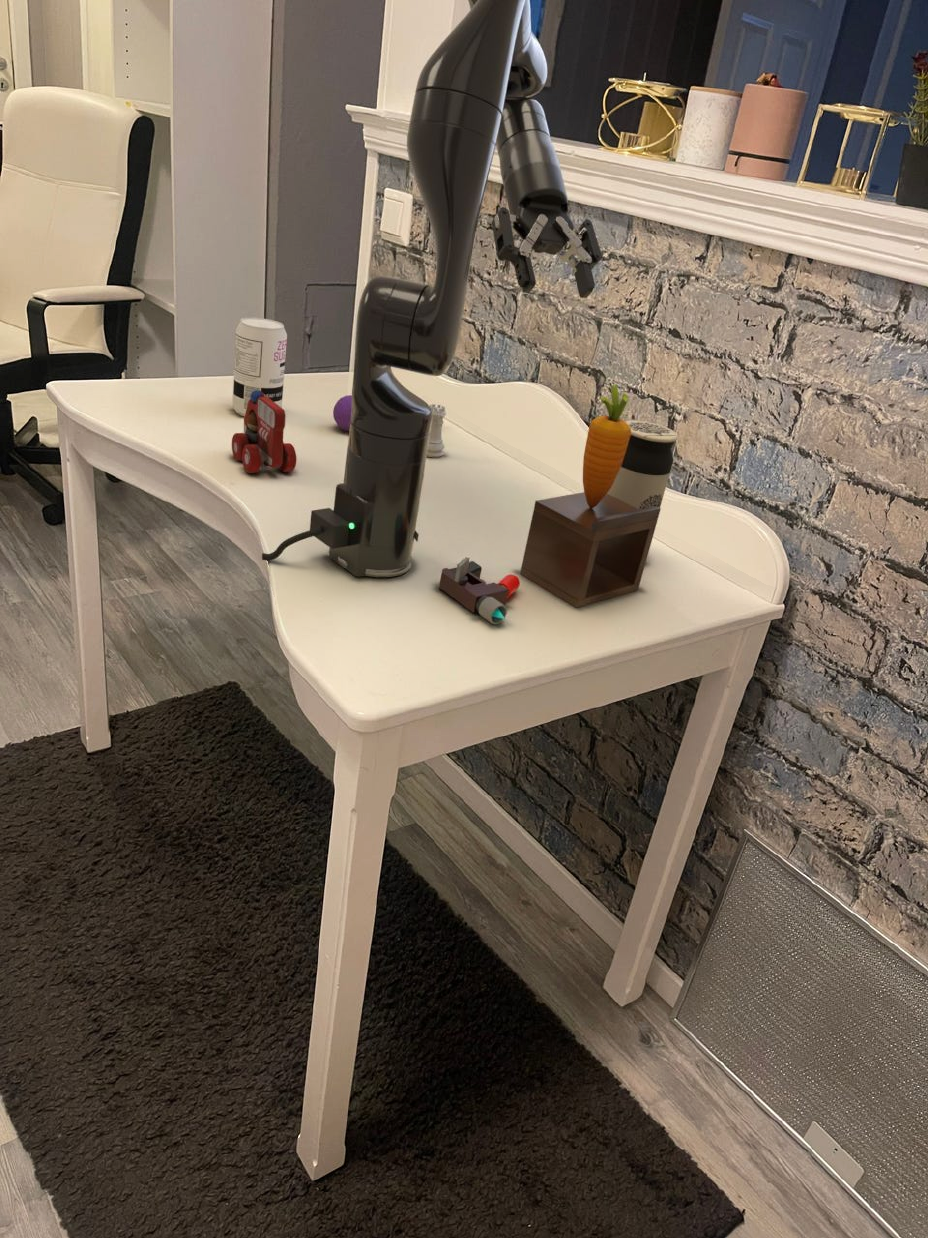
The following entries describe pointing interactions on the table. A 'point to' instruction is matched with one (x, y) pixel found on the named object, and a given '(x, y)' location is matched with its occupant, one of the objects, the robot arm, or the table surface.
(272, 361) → the supplement can
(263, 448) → the toy fire truck
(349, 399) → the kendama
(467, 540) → the table surface
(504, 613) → the toy gun
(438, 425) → the rook chess piece
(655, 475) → the travel mug
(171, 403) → the table surface
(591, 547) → the shelf
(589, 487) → the carrot
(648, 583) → the table surface
